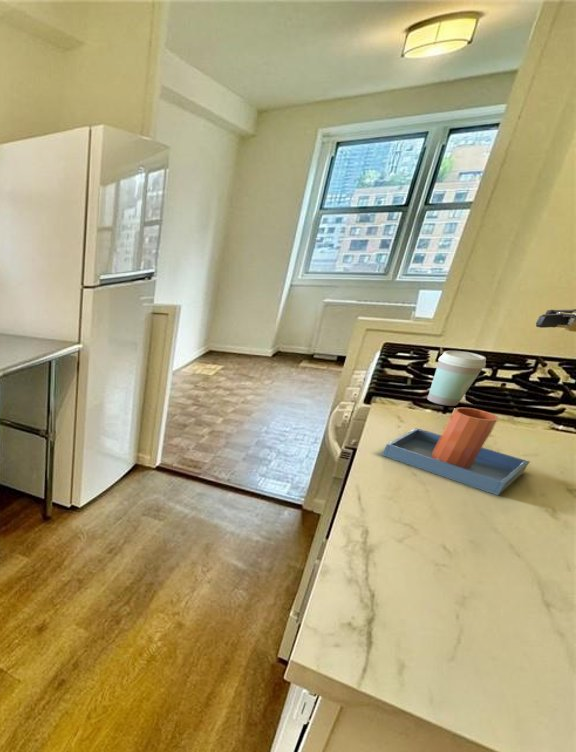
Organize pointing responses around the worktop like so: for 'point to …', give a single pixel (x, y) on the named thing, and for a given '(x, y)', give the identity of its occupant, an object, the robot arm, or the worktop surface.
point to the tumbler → (464, 436)
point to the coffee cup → (454, 376)
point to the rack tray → (484, 474)
